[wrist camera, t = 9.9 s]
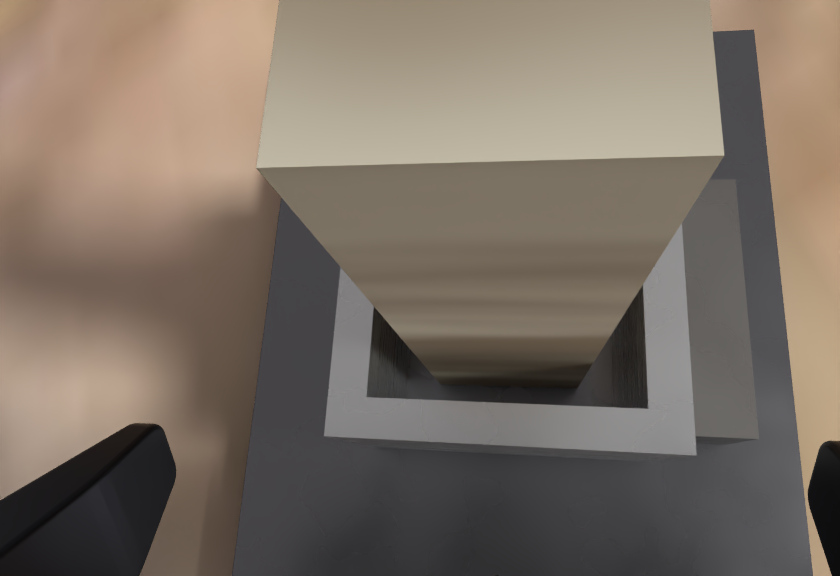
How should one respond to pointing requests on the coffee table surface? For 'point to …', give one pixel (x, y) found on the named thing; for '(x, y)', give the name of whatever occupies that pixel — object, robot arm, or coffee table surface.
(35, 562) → the robot arm
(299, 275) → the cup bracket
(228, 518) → the coffee table surface
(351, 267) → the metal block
